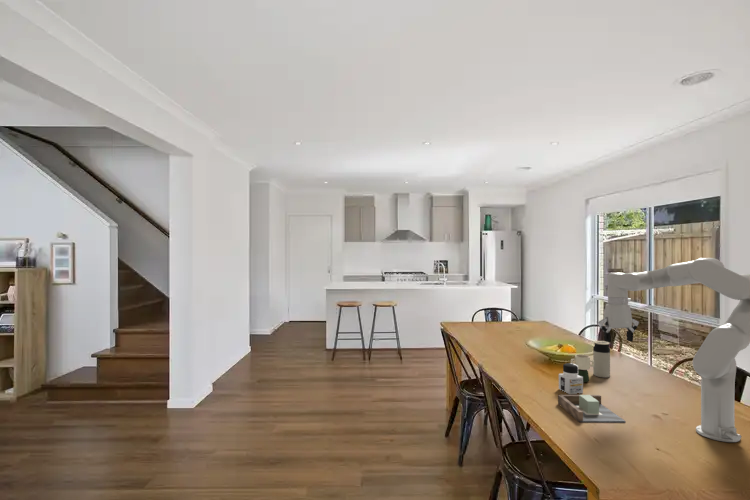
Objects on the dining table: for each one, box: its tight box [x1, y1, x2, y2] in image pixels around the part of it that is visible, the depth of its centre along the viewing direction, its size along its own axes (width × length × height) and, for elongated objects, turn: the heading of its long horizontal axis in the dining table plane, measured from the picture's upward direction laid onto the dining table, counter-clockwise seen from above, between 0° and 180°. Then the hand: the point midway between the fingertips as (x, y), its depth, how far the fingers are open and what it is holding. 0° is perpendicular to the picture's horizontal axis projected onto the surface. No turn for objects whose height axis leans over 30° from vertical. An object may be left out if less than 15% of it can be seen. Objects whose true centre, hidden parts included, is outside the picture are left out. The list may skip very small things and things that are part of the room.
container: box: [558, 362, 584, 395], centre depth 204 cm, size 8×8×13 cm
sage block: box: [578, 394, 599, 414], centre depth 178 cm, size 4×8×5 cm, turn 179°
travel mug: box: [592, 340, 611, 379], centre depth 229 cm, size 8×8×18 cm
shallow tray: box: [557, 394, 626, 424], centre depth 177 cm, size 20×18×4 cm
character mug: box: [570, 354, 594, 383], centre depth 220 cm, size 11×7×13 cm, turn 74°
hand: (618, 341), depth 183 cm, fingers open, 9 cm apart
